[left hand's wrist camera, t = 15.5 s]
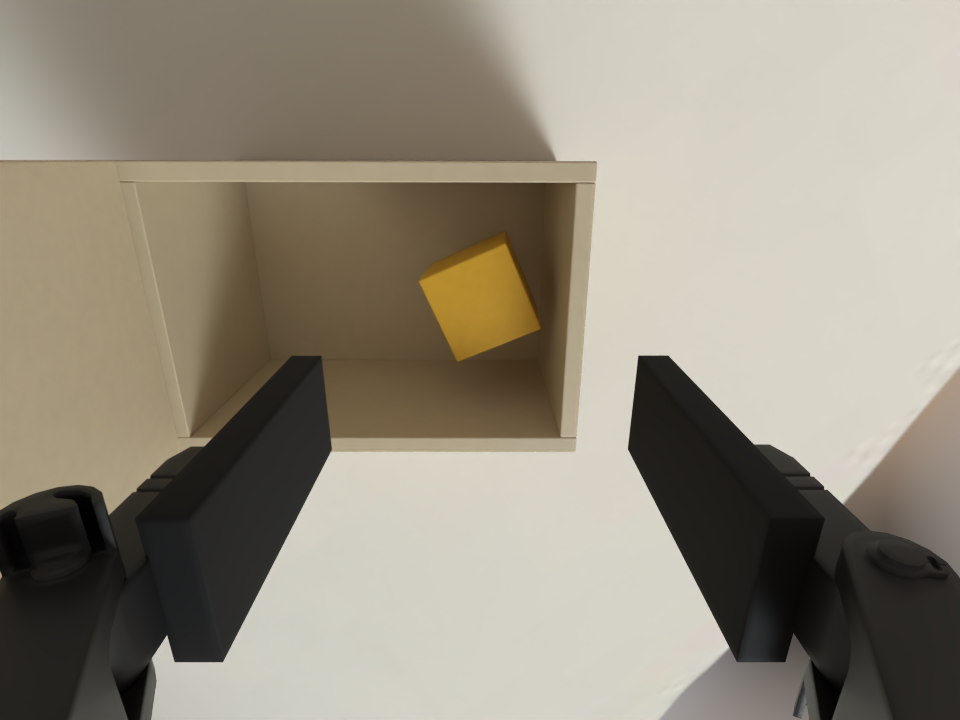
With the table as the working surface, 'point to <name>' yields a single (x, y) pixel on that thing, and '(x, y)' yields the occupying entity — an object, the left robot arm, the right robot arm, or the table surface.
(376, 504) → the table surface
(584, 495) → the table surface
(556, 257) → the chest
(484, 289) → the block
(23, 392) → the lid
